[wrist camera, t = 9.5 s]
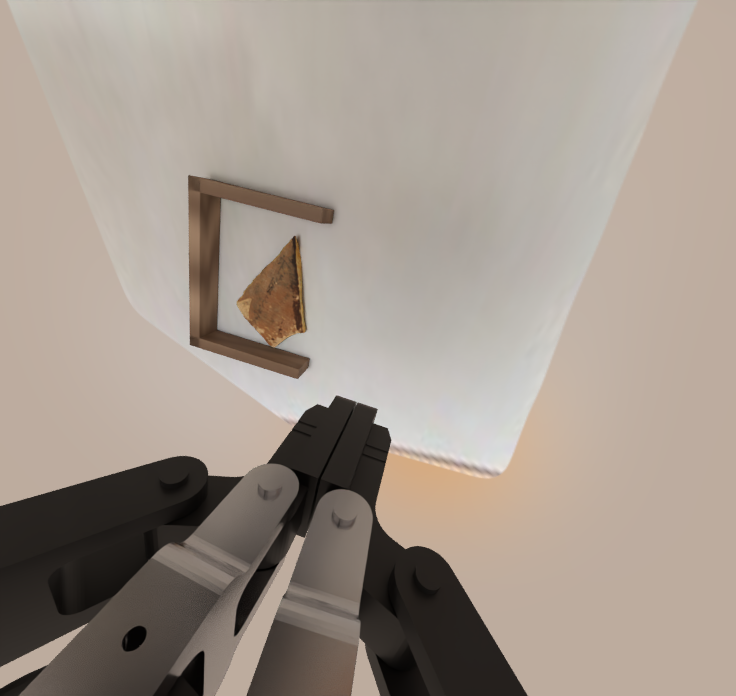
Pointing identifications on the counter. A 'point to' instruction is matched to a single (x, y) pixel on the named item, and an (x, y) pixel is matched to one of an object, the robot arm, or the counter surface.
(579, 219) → the counter surface
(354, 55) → the counter surface
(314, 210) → the wooden c-shaped bracket
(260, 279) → the shard
